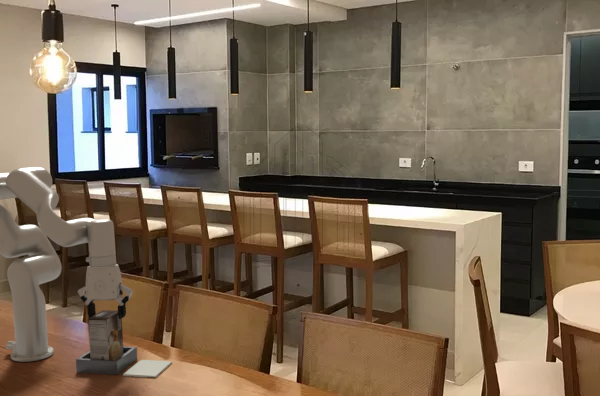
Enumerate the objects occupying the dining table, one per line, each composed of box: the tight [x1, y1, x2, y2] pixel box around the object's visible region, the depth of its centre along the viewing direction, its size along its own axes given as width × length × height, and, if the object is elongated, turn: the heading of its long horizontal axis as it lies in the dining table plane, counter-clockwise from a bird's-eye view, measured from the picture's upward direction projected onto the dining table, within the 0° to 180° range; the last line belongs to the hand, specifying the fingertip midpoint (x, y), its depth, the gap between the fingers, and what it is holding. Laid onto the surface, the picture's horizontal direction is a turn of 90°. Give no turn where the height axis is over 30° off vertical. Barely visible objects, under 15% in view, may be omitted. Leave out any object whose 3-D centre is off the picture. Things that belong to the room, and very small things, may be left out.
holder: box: [75, 345, 138, 376], centre depth 198 cm, size 13×13×4 cm
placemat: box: [122, 359, 173, 379], centre depth 195 cm, size 10×12×1 cm
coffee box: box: [87, 309, 124, 360], centre depth 198 cm, size 9×6×16 cm
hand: (107, 317), depth 197 cm, fingers open, 9 cm apart
